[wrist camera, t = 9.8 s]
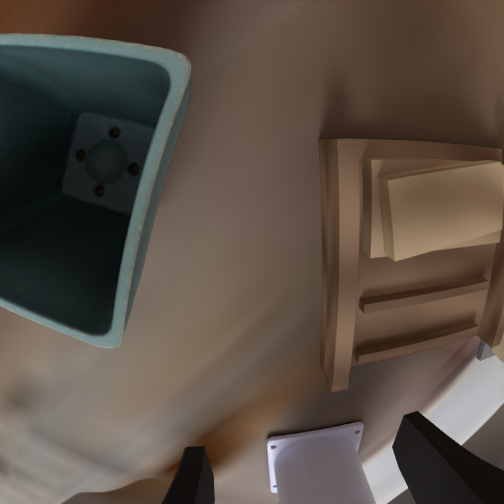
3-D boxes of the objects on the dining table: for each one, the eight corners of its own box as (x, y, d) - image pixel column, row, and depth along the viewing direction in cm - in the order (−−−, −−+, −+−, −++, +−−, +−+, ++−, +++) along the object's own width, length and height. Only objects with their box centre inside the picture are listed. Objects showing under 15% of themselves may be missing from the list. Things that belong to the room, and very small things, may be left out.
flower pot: (213, 101, 15) (198, 53, 7) (165, 259, 18) (119, 357, 9) (67, 70, 14) (-37, 34, 5) (33, 217, 16) (-69, 271, 8)
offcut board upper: (490, 224, 16) (502, 229, 15) (384, 253, 16) (394, 261, 15) (487, 159, 15) (501, 162, 14) (376, 177, 15) (387, 180, 14)
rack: (478, 326, 21) (499, 344, 18) (320, 362, 21) (331, 391, 18) (501, 149, 17) (530, 153, 14) (318, 139, 16) (336, 138, 13)
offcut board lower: (488, 237, 18) (499, 242, 16) (361, 251, 17) (370, 258, 16) (493, 163, 16) (505, 165, 15) (361, 158, 16) (371, 159, 14)
